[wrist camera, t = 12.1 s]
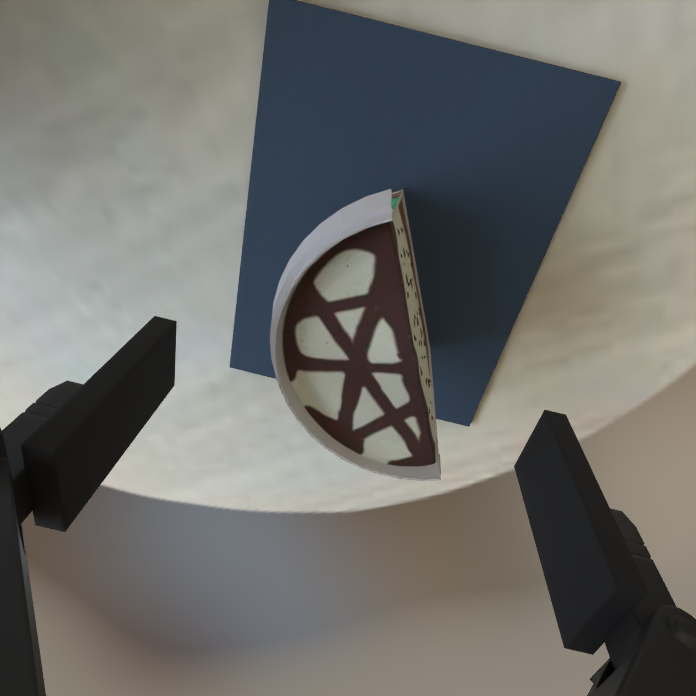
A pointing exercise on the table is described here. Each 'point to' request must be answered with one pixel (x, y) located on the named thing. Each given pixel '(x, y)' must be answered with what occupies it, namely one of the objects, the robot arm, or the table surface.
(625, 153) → the table surface
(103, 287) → the table surface
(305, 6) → the mat
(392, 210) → the food container
